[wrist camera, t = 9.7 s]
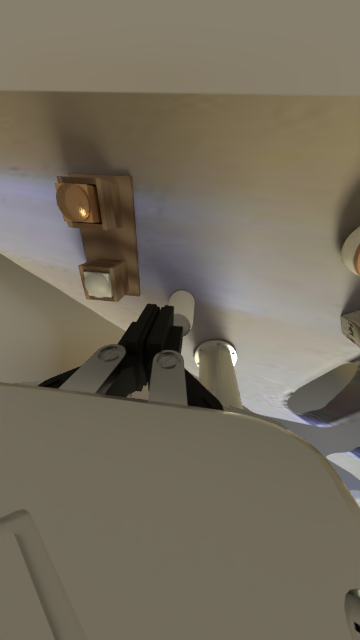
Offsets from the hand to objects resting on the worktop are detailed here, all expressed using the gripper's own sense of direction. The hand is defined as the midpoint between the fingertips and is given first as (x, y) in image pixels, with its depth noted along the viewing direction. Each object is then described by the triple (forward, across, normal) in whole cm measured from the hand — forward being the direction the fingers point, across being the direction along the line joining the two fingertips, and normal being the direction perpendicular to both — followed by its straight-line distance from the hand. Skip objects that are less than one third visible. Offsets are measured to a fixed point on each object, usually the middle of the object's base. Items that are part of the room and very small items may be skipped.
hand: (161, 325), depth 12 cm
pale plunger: (+30, +18, +7) cm, 36 cm away
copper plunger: (+28, +18, -7) cm, 34 cm away
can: (+32, +1, +13) cm, 35 cm away
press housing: (+32, +18, 0) cm, 37 cm away
